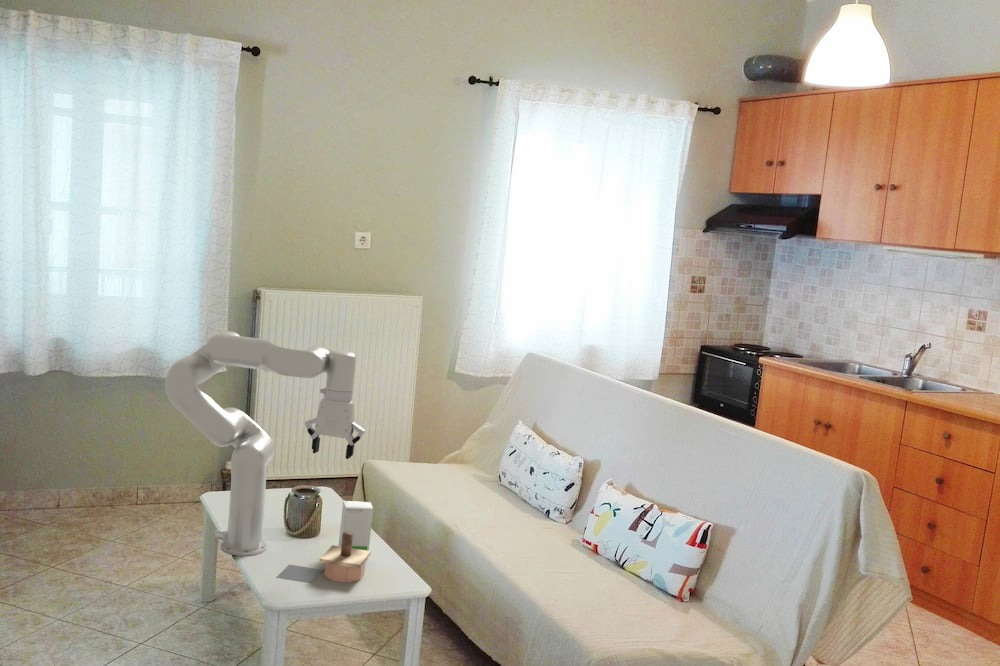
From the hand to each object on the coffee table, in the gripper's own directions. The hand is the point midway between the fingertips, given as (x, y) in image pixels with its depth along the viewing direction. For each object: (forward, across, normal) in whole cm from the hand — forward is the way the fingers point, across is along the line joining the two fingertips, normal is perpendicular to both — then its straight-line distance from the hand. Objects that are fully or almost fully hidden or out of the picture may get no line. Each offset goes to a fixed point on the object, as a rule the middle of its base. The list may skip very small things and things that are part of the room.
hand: (332, 455), depth 268 cm
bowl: (+30, +11, -11) cm, 33 cm away
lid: (+25, +10, -11) cm, 29 cm away
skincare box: (+30, +8, +4) cm, 31 cm away
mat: (+30, 0, -15) cm, 33 cm away
